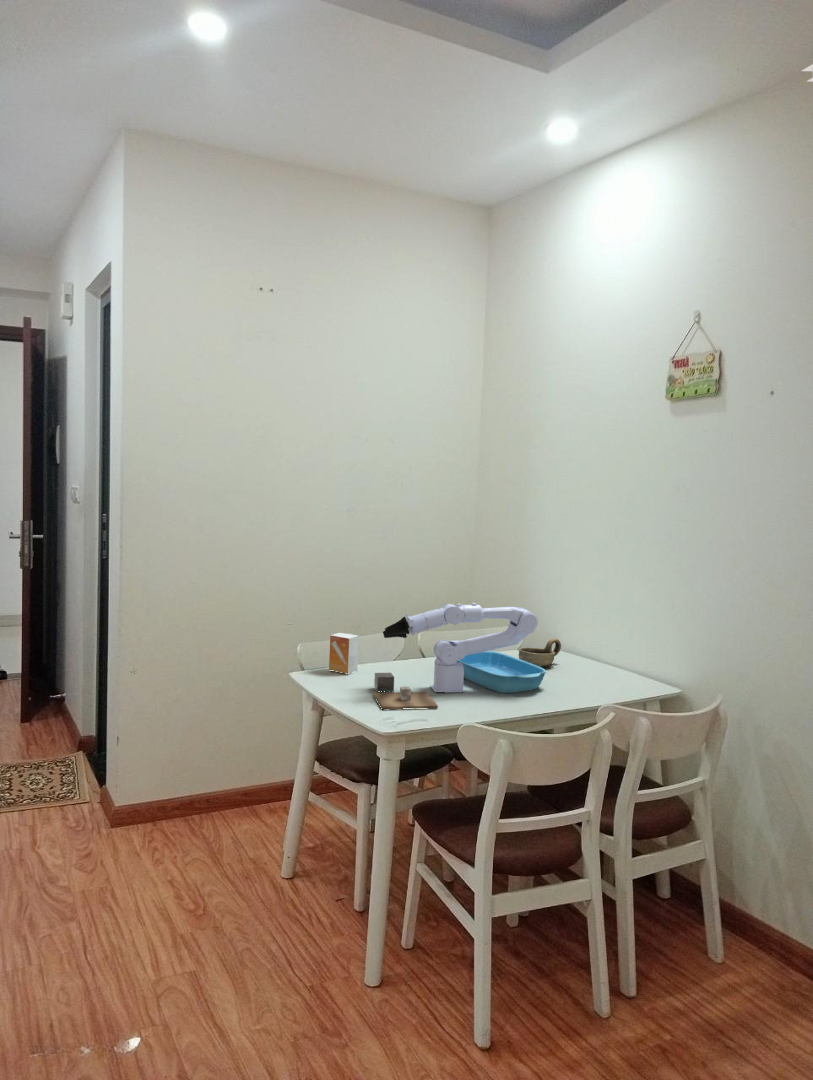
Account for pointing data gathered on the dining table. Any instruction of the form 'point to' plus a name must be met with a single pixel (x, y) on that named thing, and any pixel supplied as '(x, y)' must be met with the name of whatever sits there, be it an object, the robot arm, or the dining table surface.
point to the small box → (343, 652)
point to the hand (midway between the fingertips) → (384, 633)
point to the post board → (400, 704)
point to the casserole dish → (501, 672)
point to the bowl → (540, 653)
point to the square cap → (384, 682)
